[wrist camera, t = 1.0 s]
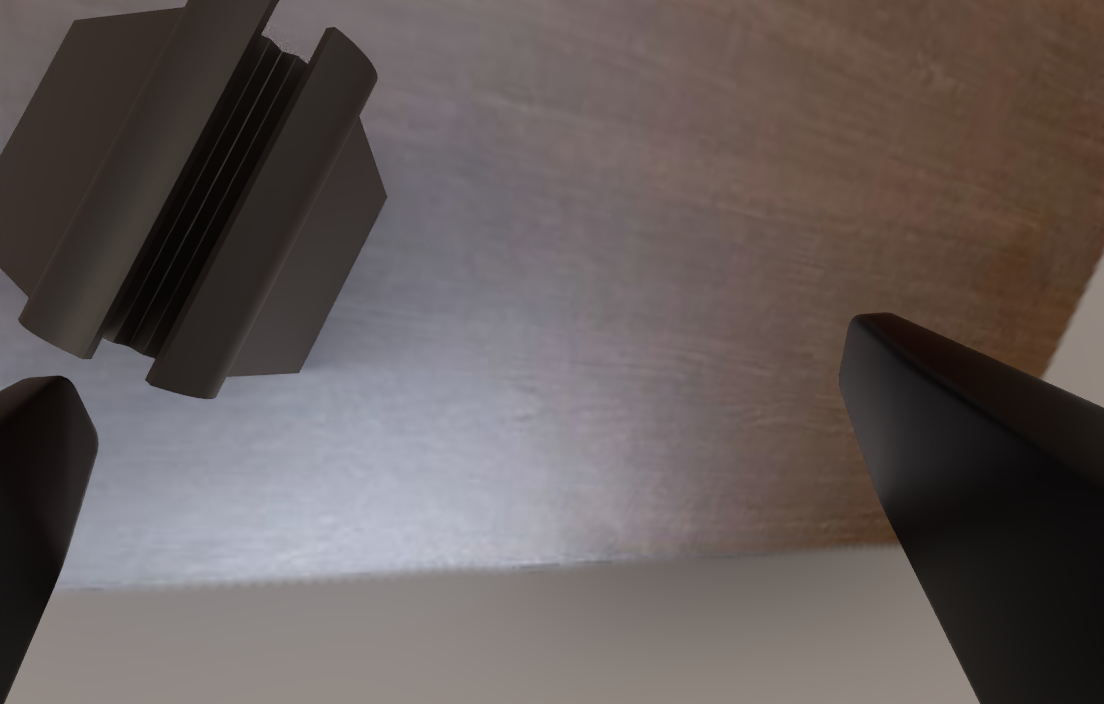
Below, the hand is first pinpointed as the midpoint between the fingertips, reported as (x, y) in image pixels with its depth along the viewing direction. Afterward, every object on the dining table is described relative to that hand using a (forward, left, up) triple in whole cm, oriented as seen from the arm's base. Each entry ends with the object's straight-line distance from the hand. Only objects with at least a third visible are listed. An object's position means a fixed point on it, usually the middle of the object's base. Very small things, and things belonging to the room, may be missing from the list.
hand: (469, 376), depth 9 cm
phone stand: (0, +3, -16) cm, 17 cm away
